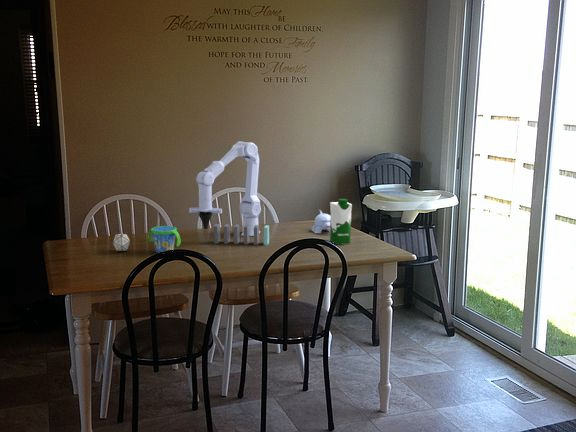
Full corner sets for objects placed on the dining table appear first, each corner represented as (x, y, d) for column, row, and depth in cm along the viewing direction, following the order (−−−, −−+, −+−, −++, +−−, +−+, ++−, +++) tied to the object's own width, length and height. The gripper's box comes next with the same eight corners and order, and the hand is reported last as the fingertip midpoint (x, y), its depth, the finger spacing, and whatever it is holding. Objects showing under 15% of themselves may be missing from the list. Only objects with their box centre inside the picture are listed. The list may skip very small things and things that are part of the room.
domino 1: (214, 243, 280) (213, 226, 278) (216, 241, 284) (216, 223, 283) (217, 243, 279) (217, 226, 278) (220, 241, 284) (219, 223, 283)
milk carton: (334, 245, 278) (335, 200, 274) (327, 240, 286) (328, 197, 282) (353, 243, 280) (354, 199, 277) (345, 239, 289) (346, 196, 285)
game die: (124, 260, 264) (124, 245, 257) (106, 252, 265) (106, 237, 258) (135, 246, 270) (136, 231, 263) (118, 239, 271) (118, 223, 264)
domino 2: (223, 243, 279) (223, 226, 277) (226, 241, 284) (226, 224, 282) (227, 244, 279) (227, 226, 277) (229, 241, 284) (229, 224, 282)
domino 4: (243, 244, 278) (243, 227, 276) (245, 242, 283) (245, 224, 281) (247, 244, 278) (247, 227, 276) (249, 242, 283) (249, 224, 281)
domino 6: (263, 245, 277) (263, 227, 275) (265, 242, 282) (265, 225, 280) (267, 245, 277) (267, 227, 275) (269, 242, 282) (269, 225, 280)
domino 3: (233, 244, 278) (233, 226, 277) (236, 241, 283) (235, 224, 282) (237, 244, 278) (237, 226, 277) (239, 241, 283) (239, 224, 282)
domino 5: (253, 244, 277) (253, 227, 276) (255, 242, 282) (255, 225, 281) (257, 245, 277) (257, 227, 276) (259, 242, 282) (259, 225, 281)
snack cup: (186, 251, 265) (186, 228, 263) (169, 257, 256) (168, 232, 254) (160, 246, 273) (159, 224, 271) (142, 251, 264) (141, 228, 262)
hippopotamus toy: (318, 235, 296) (319, 216, 294) (309, 229, 310) (309, 210, 309) (340, 234, 299) (340, 215, 297) (329, 228, 313) (330, 209, 311)
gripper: (187, 199, 276) (187, 229, 278) (219, 200, 274) (219, 230, 277) (191, 197, 283) (192, 226, 285) (222, 198, 281) (223, 227, 283)
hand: (205, 228), depth 281 cm, fingers closed
